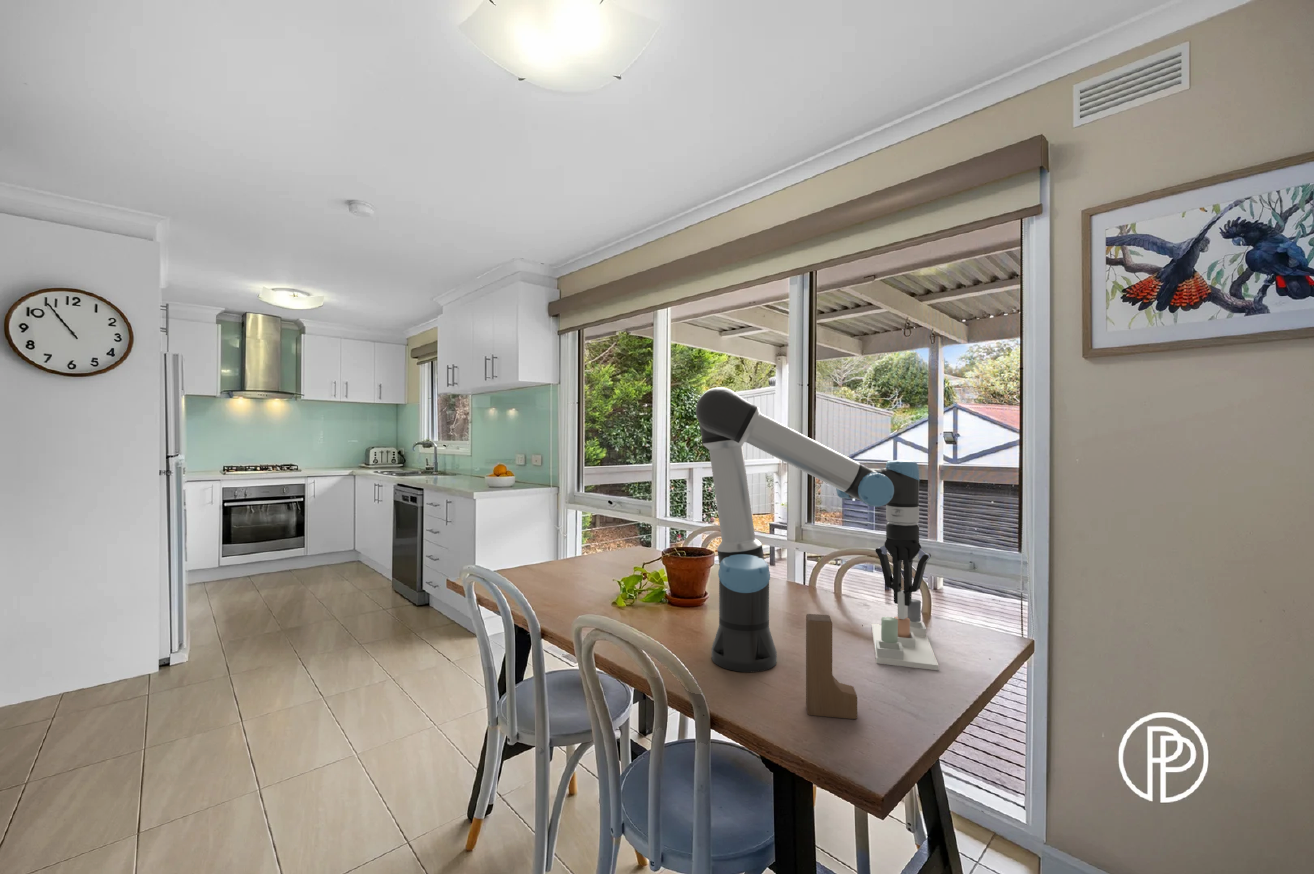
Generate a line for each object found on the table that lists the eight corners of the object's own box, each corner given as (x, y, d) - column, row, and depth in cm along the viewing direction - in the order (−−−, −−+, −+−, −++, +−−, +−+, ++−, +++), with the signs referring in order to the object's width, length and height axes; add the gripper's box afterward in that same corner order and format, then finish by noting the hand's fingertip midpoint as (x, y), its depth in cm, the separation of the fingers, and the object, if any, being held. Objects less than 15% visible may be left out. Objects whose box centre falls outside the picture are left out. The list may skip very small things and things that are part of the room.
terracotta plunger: (894, 640, 141) (894, 620, 141) (893, 635, 144) (893, 615, 144) (910, 642, 140) (910, 621, 140) (908, 637, 143) (909, 617, 143)
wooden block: (853, 708, 110) (854, 615, 110) (857, 720, 106) (857, 623, 106) (805, 704, 112) (805, 613, 112) (807, 715, 107) (807, 620, 107)
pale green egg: (881, 642, 133) (881, 620, 133) (880, 636, 137) (880, 616, 137) (898, 643, 132) (898, 622, 132) (897, 638, 136) (897, 617, 135)
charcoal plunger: (906, 621, 148) (906, 601, 148) (904, 616, 152) (905, 598, 152) (921, 622, 147) (921, 603, 147) (919, 618, 150) (919, 599, 150)
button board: (876, 663, 132) (876, 649, 132) (871, 627, 156) (871, 616, 156) (938, 670, 128) (938, 656, 128) (923, 633, 152) (923, 621, 152)
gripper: (870, 521, 143) (870, 615, 143) (925, 527, 134) (925, 627, 135) (881, 518, 149) (881, 608, 149) (935, 523, 140) (935, 619, 140)
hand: (902, 617), depth 142 cm, fingers closed
